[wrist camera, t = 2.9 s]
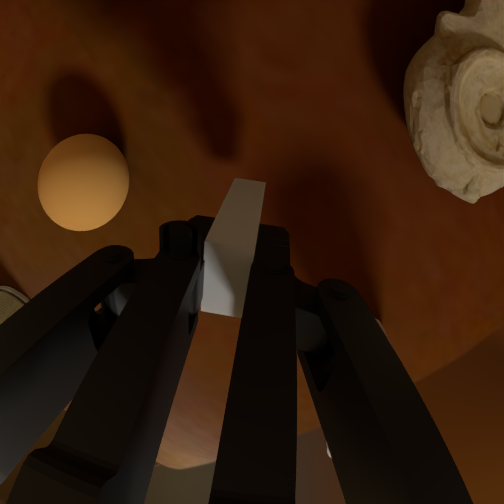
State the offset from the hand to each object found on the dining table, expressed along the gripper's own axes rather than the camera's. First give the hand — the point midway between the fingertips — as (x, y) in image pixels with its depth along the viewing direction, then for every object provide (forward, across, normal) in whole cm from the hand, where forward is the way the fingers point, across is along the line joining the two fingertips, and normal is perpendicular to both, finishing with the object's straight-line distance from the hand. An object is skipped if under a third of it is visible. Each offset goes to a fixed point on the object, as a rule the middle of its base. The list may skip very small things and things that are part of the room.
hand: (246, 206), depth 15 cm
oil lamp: (+3, +11, +10) cm, 15 cm away
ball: (0, -9, 0) cm, 9 cm away
